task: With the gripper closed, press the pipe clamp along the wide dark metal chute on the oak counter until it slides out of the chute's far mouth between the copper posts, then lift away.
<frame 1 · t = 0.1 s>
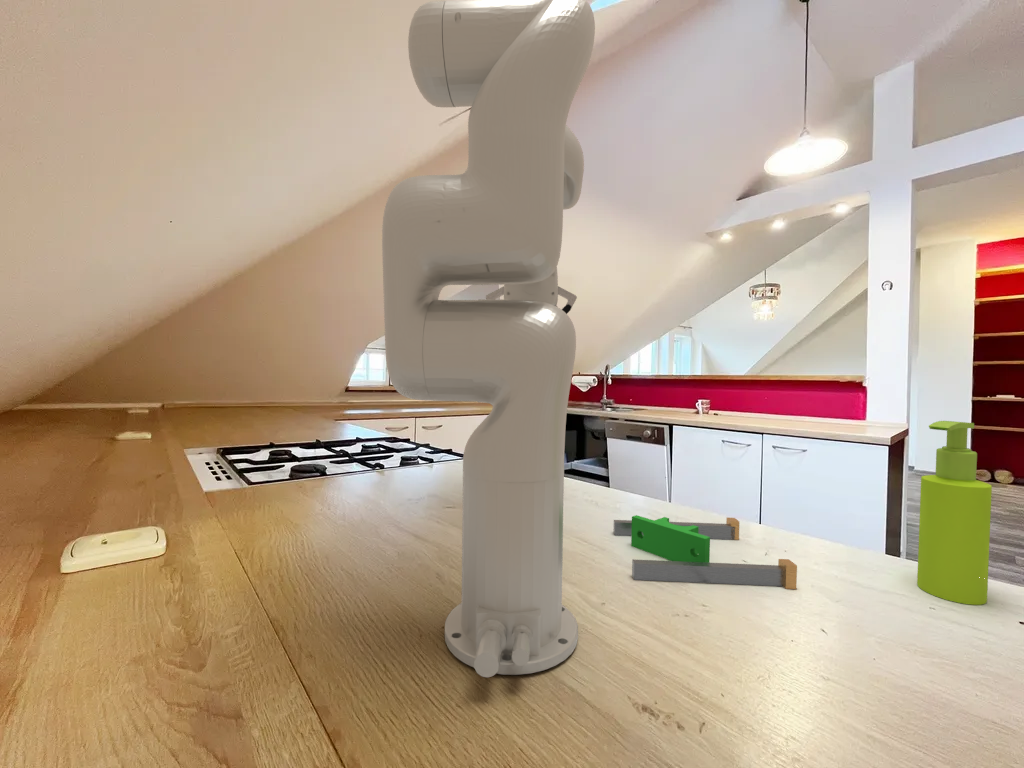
hand: (530, 339, 88), 31 cm above the worktop, tool pointing down, fingers open, 9 cm apart
pipe clamp: (673, 558, 63), on the worktop
chute: (688, 555, 63), on the worktop
soap dispenser: (948, 594, 53), on the worktop
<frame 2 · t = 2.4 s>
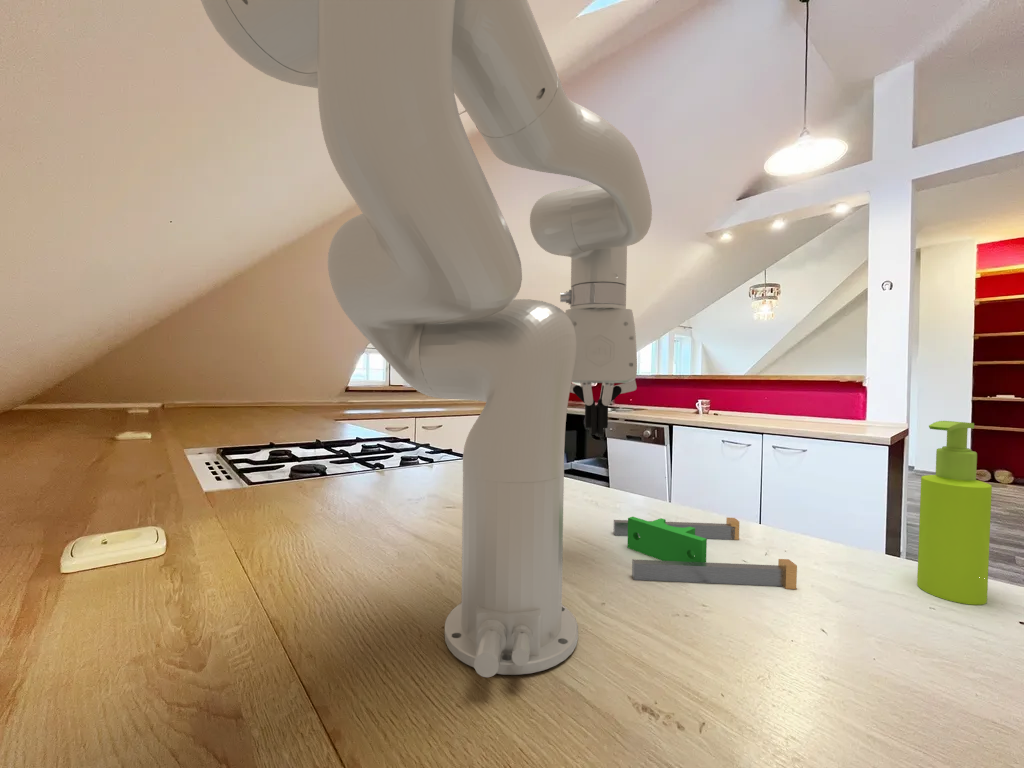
hand: (595, 433, 64), 17 cm above the worktop, tool pointing down, fingers closed
nothing on the worktop moved.
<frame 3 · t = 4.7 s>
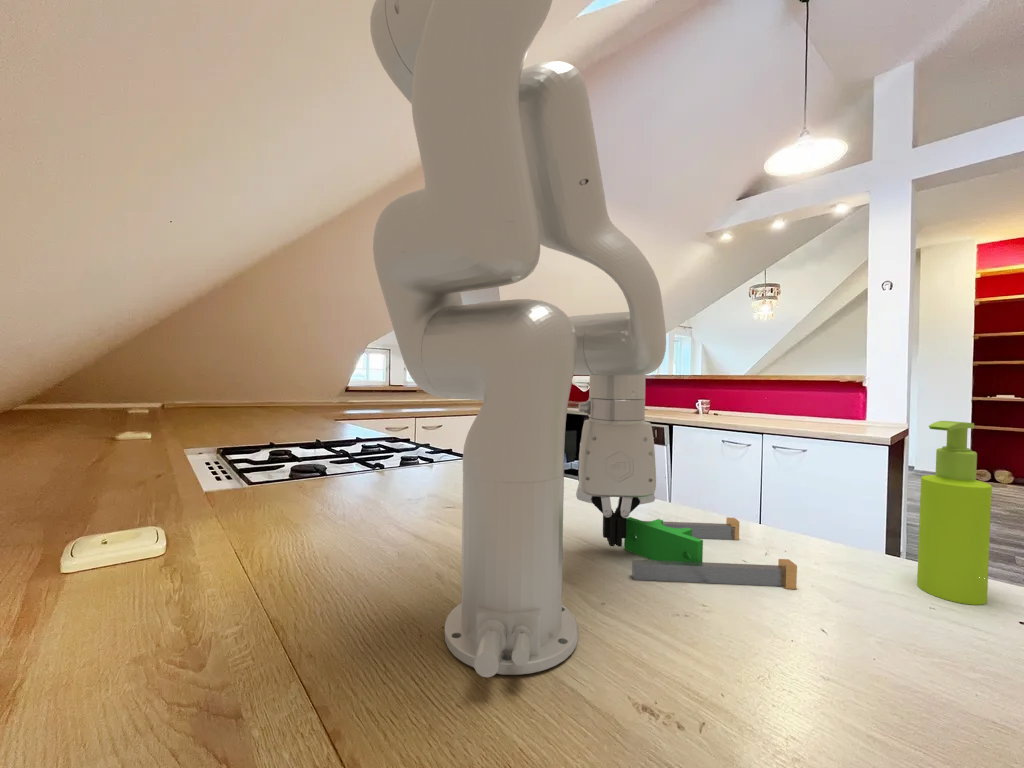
hand: (614, 542, 64), 1 cm above the worktop, tool pointing down, fingers closed
pipe clamp: (666, 561, 62), on the worktop, touching gripper
everything else where it was.
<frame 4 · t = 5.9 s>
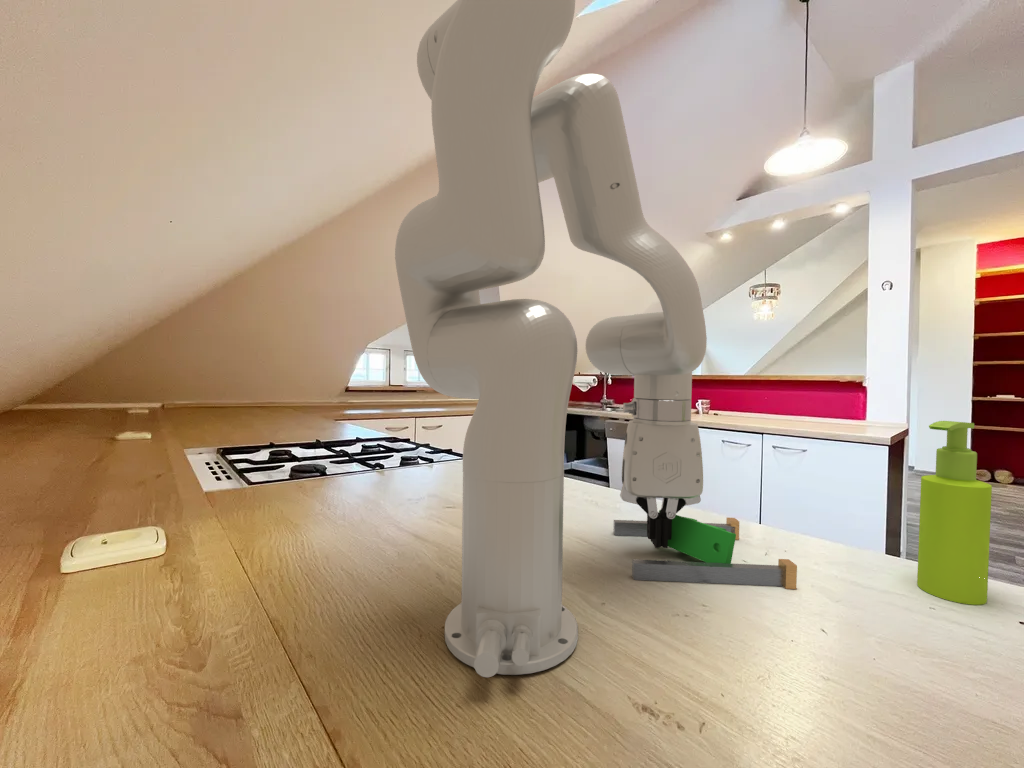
hand: (658, 544, 63), 1 cm above the worktop, tool pointing down, fingers closed
pipe clamp: (694, 556, 62), on the worktop, touching gripper
everything else where it was.
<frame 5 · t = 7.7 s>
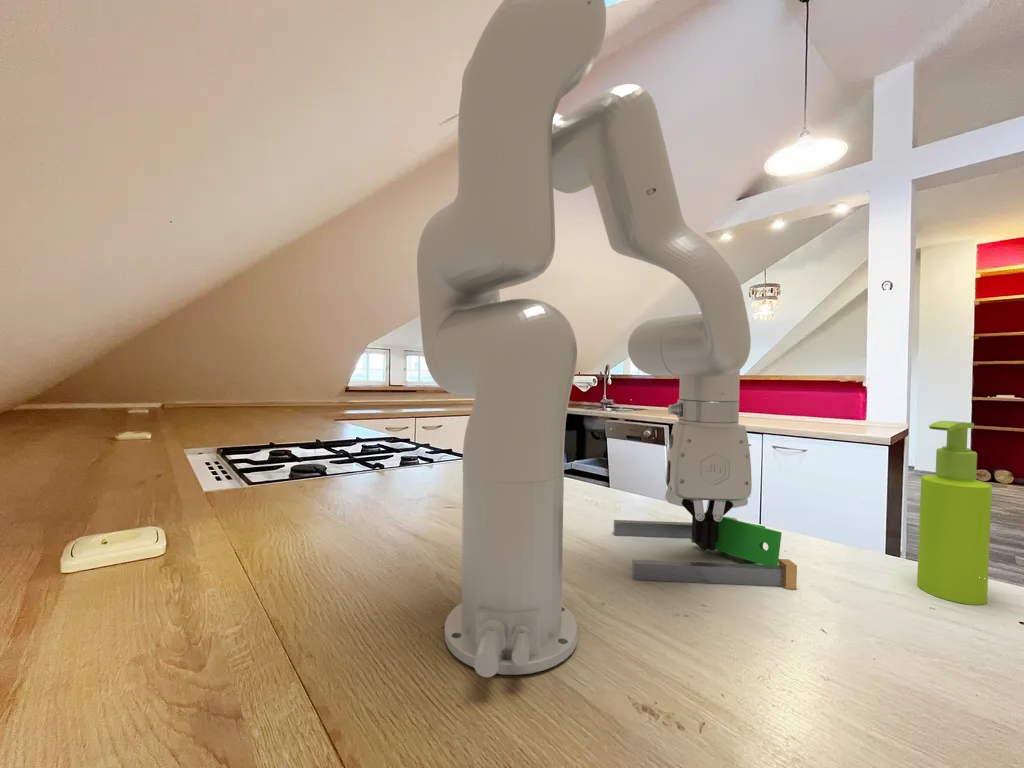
hand: (704, 546, 63), 1 cm above the worktop, tool pointing down, fingers closed
pipe clamp: (735, 555, 63), on the worktop, touching gripper
everything else where it was.
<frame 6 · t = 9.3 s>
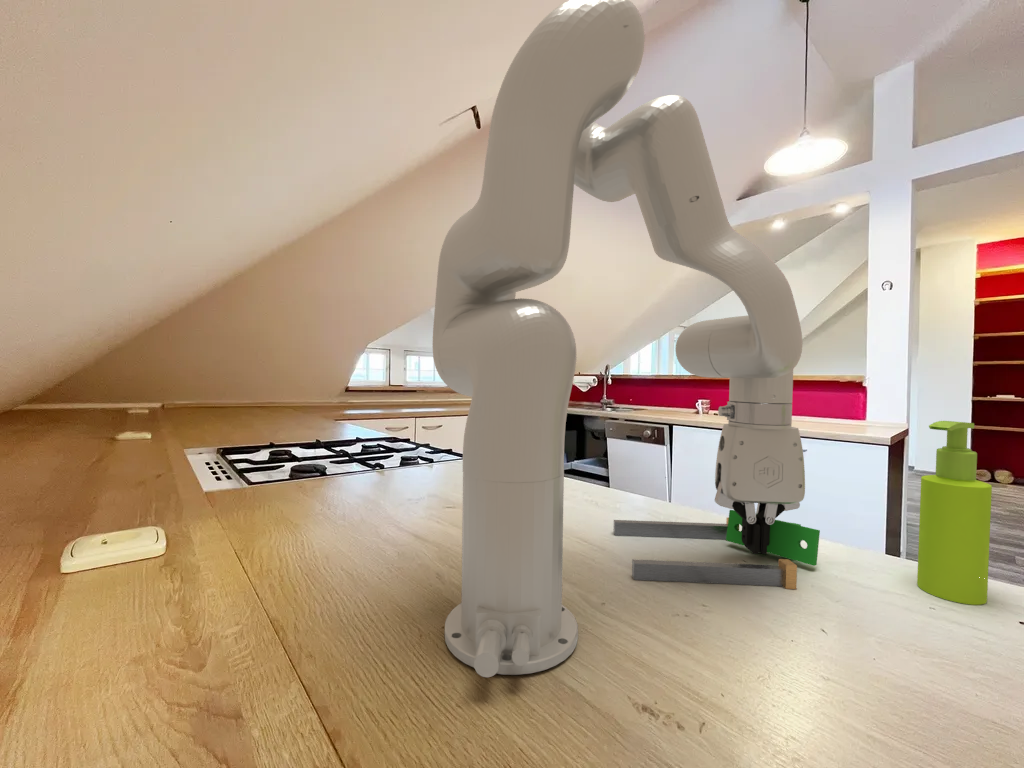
hand: (755, 549, 62), 1 cm above the worktop, tool pointing down, fingers closed
pipe clamp: (772, 553, 64), on the worktop, touching gripper
everything else where it was.
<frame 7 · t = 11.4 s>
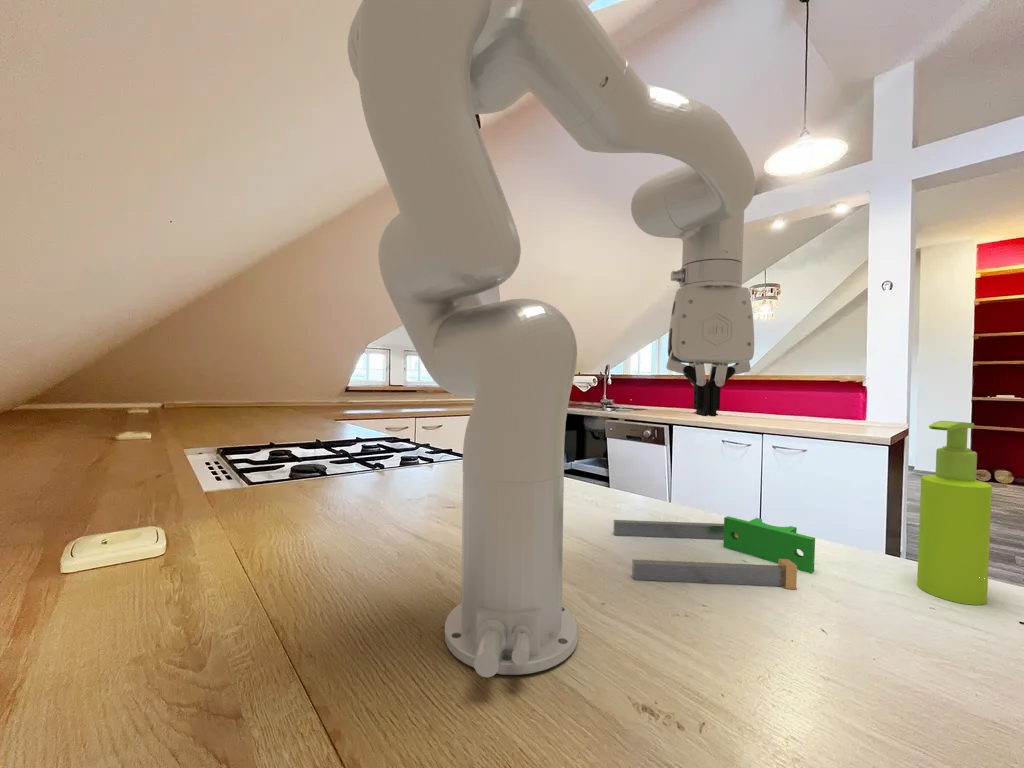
hand: (706, 415, 62), 19 cm above the worktop, tool pointing down, fingers closed
pipe clamp: (770, 559, 63), on the worktop
everything else where it was.
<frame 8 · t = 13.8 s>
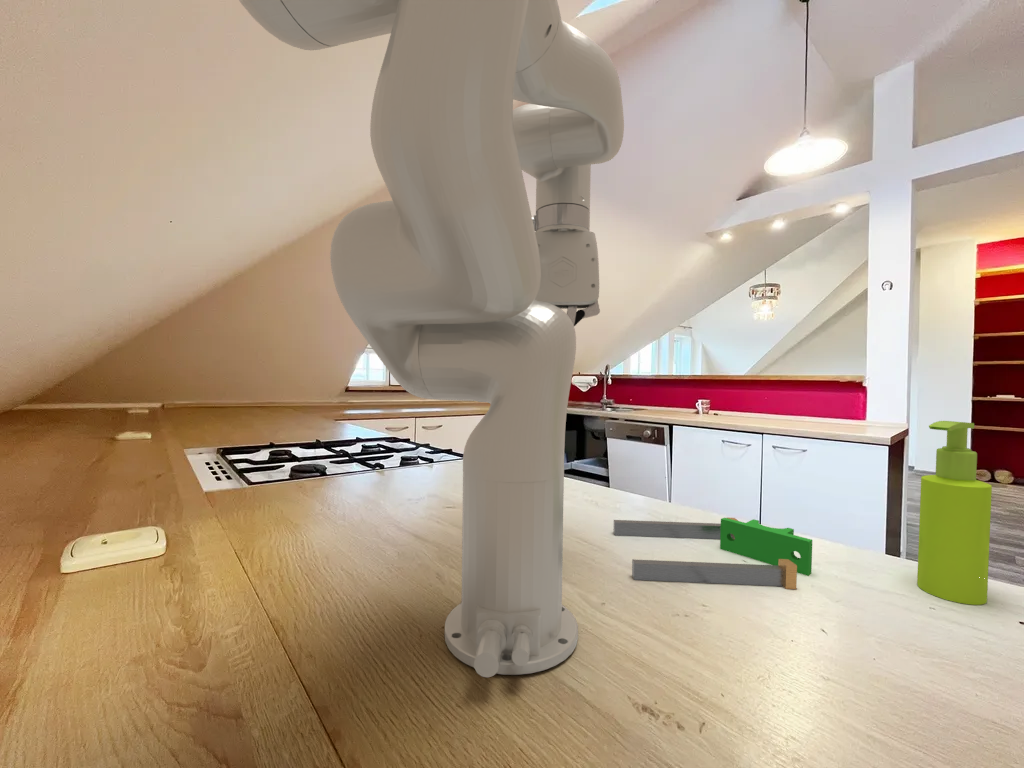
hand: (560, 357, 64), 27 cm above the worktop, tool pointing down, fingers closed
pipe clamp: (767, 560, 63), on the worktop
everything else where it was.
at the end: pipe clamp inside the target area (8.9 cm from its centre), on the worktop; pipe clamp moved 12.6 cm from its start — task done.
